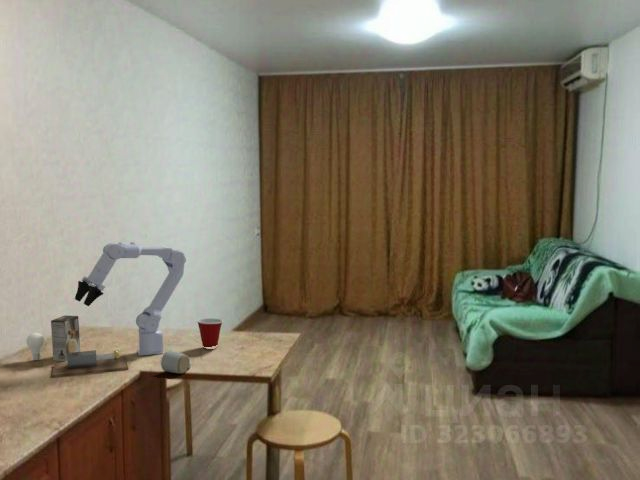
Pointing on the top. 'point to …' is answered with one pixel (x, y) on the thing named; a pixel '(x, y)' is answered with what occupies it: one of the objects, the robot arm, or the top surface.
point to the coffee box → (65, 337)
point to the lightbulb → (35, 344)
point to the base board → (102, 366)
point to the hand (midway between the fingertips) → (81, 302)
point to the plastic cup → (209, 331)
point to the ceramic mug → (175, 362)
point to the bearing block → (81, 360)
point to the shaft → (108, 356)
